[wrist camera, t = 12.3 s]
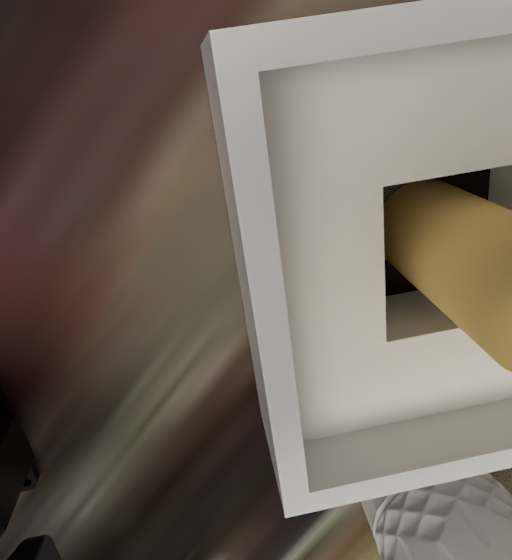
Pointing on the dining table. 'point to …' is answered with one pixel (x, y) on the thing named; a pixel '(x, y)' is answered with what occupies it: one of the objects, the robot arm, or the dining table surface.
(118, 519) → the dining table surface
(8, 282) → the dining table surface
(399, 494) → the white cup
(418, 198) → the peg
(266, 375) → the socket box
